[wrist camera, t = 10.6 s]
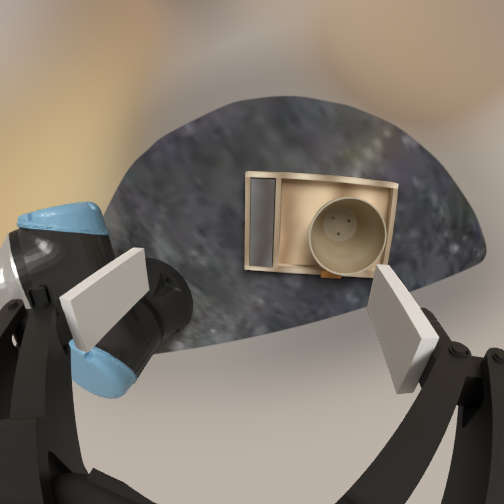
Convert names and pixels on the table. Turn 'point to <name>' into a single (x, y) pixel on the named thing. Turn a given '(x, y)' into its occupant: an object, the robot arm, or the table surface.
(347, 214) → the flower pot
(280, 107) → the table surface
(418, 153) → the table surface
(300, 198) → the wooden tray
